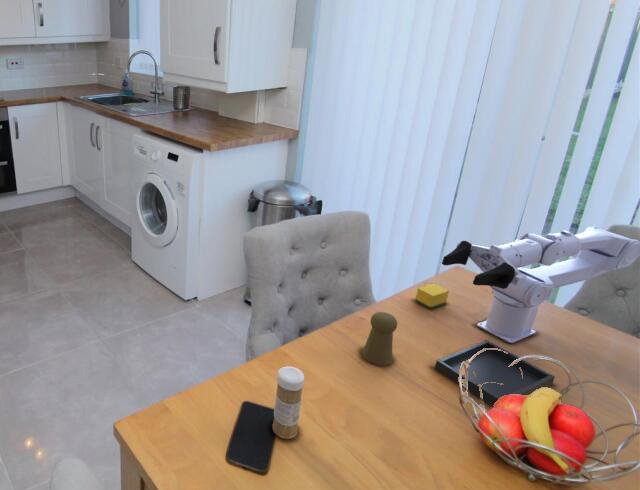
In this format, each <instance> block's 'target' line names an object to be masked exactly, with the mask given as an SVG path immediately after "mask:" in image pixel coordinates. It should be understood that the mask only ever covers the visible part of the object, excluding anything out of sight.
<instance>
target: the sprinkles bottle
mask: <svg viewBox="0 0 640 490" xmlns="http://www.w3.org/2000/svg"><path fill="white" fill-rule="evenodd" d="M276 382H277V385H276V386H277V387H276V393H275V394H276V395H275V401H274V410H273V423H272V427H271V428H272V431H273V433H274V434H275V435H276V436H277V437H279V438H281V439H283V440H291V439H294V438H295V437H296V436H297V434H298V423H299V418H300V412H301V404H302V392H303V388H304V386H305V385H304V384H305V374H304V373H303V371H302V370H300V368H297V367H294V366H289V365H288V366H283V367H280V368H279V369H278V371H277V375H276Z"/></svg>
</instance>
